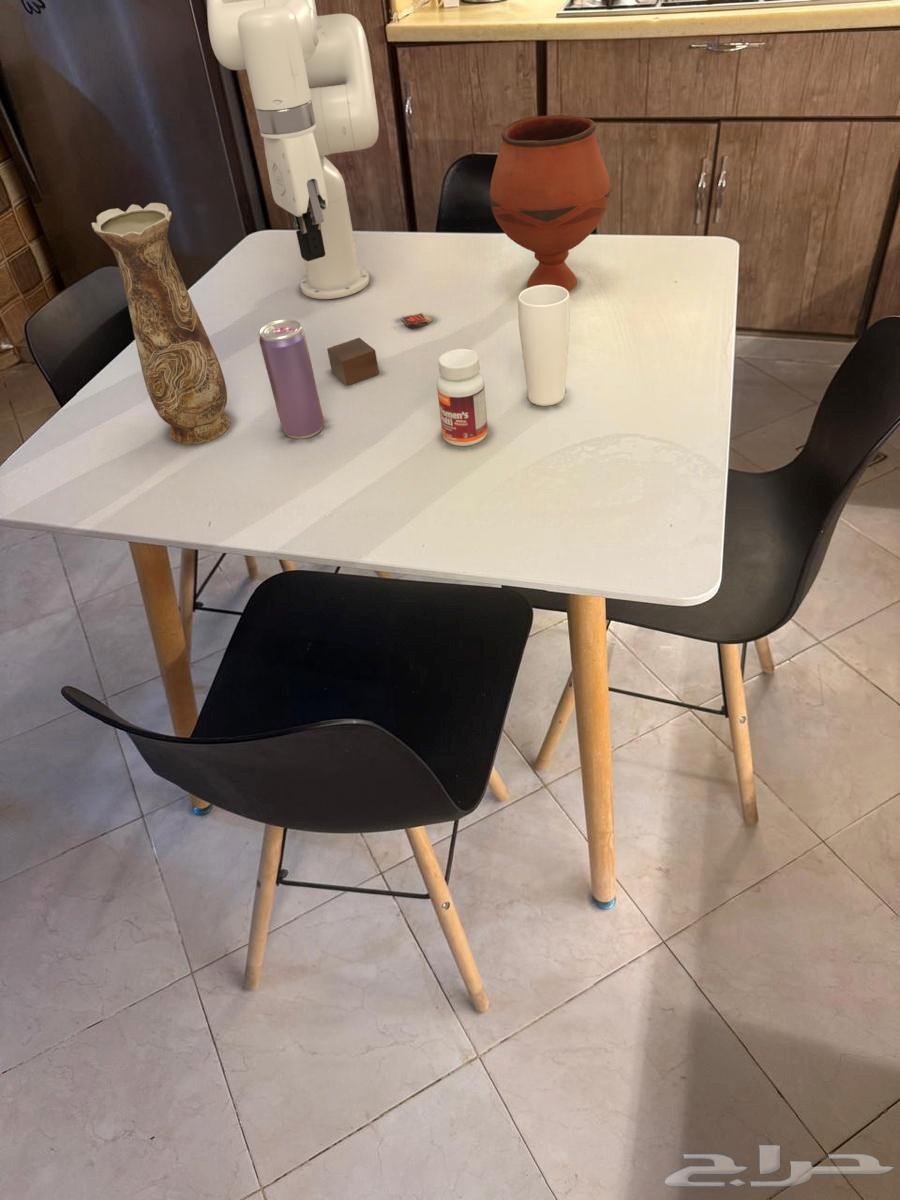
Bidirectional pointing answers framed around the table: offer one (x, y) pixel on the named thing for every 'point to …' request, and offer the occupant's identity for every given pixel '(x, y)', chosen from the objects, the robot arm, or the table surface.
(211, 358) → the vase
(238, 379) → the table surface
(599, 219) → the goblet
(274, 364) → the beverage can
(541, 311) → the drinking glass
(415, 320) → the painted wall fragment
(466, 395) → the pill bottle
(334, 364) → the walnut block
